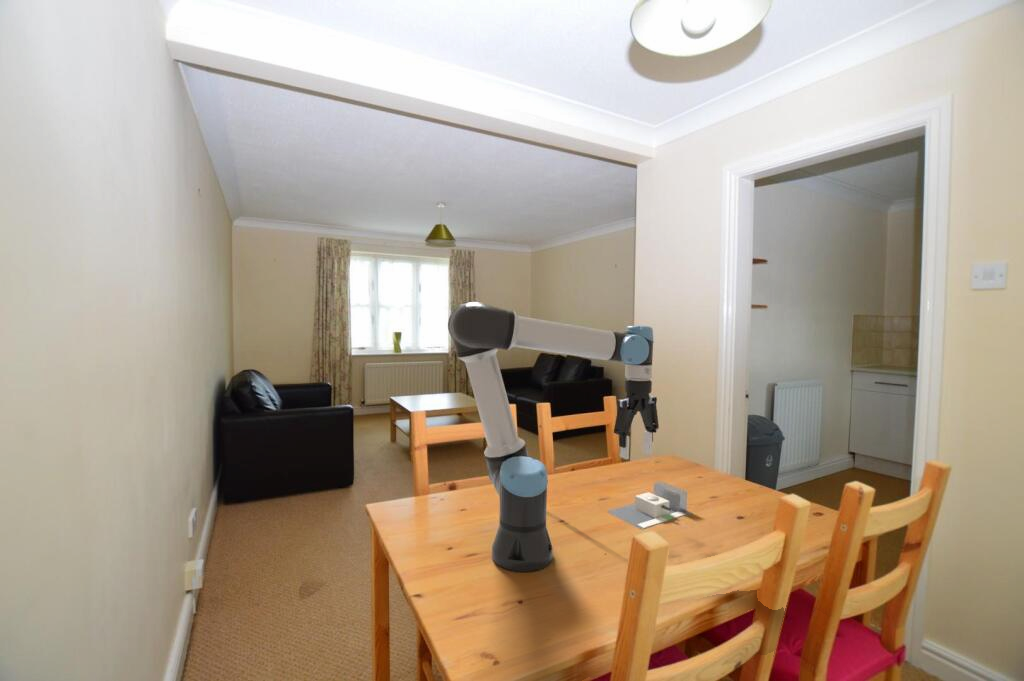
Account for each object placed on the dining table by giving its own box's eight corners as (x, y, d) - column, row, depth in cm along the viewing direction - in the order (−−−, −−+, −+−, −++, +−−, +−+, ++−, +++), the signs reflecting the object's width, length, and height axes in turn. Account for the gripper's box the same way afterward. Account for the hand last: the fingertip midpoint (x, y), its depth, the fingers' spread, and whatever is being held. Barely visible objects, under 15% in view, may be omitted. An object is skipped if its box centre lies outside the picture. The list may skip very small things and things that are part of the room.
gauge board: (641, 533, 129) (641, 528, 129) (606, 515, 141) (606, 510, 141) (692, 516, 141) (692, 511, 140) (655, 500, 152) (655, 496, 152)
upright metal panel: (679, 512, 140) (680, 493, 140) (653, 501, 149) (654, 482, 149) (686, 510, 142) (687, 491, 142) (660, 499, 151) (660, 481, 150)
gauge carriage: (662, 521, 134) (662, 507, 134) (634, 508, 143) (635, 495, 143) (676, 517, 137) (676, 503, 137) (648, 504, 146) (648, 491, 146)
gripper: (621, 382, 126) (618, 464, 127) (673, 378, 138) (670, 453, 139) (601, 379, 132) (599, 457, 134) (653, 375, 144) (651, 447, 145)
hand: (635, 455), depth 136 cm, fingers open, 9 cm apart
